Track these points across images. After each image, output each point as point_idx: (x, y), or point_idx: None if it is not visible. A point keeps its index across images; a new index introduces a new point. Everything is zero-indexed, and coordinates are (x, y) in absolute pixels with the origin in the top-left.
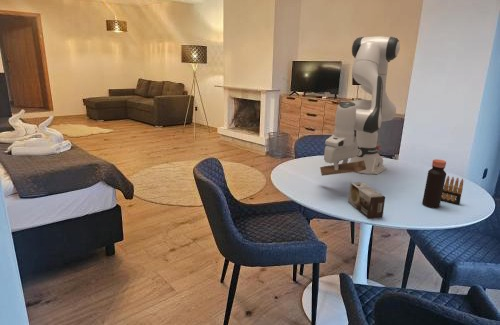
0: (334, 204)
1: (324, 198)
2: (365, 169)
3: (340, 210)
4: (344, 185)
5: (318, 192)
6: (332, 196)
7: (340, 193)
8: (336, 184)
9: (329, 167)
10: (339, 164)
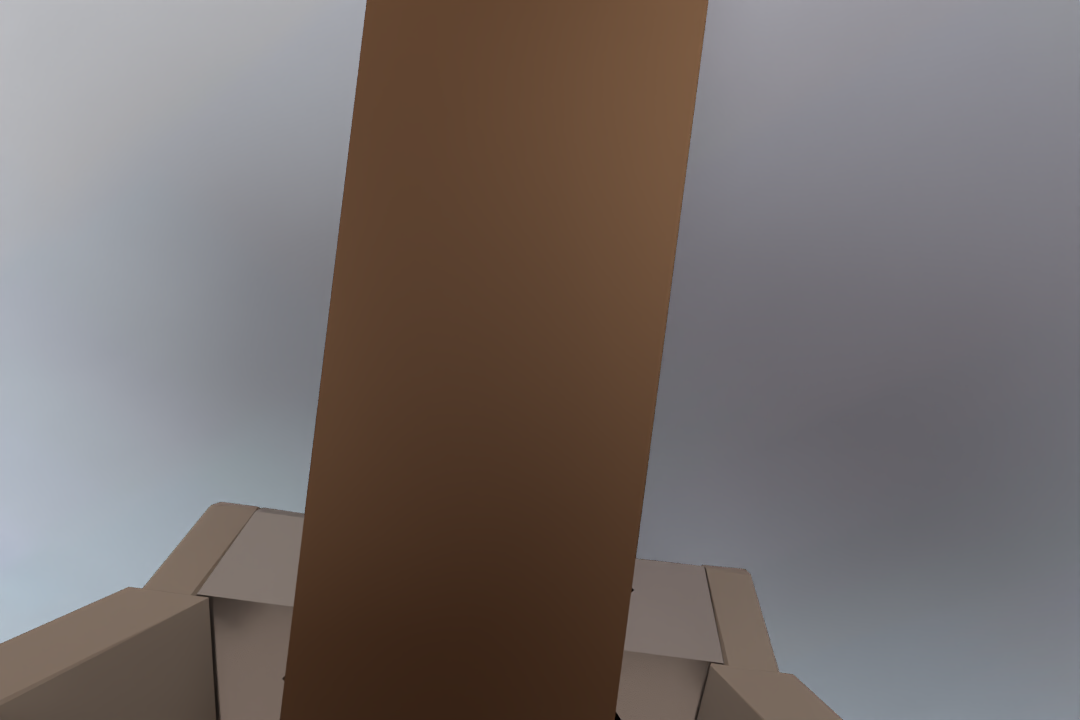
0: (89, 496)
1: (123, 280)
2: None
3: (17, 628)
4: (1015, 187)
5: (242, 33)
6: (310, 325)
7: None
8: (963, 27)
9: (368, 147)
10: (425, 695)
